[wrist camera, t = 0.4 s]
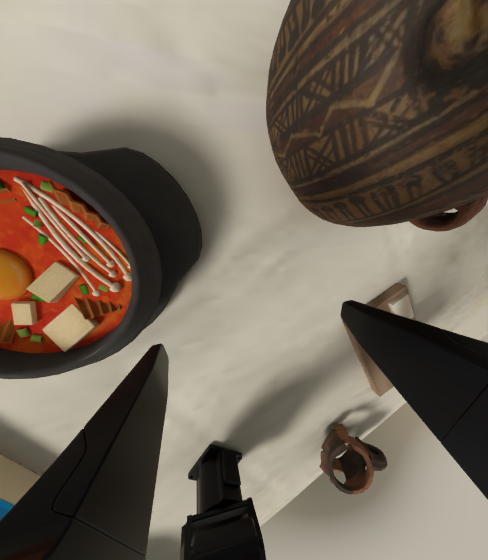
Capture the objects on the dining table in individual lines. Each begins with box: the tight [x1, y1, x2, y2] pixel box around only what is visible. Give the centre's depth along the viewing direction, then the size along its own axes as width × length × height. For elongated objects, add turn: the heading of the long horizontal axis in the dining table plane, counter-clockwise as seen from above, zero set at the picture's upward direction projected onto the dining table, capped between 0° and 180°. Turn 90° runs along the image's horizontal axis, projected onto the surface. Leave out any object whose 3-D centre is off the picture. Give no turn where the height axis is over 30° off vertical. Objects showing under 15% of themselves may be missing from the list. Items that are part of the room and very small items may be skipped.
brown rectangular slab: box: [343, 284, 415, 396], centre depth 31 cm, size 11×18×4 cm, turn 30°
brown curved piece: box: [320, 424, 387, 494], centre depth 35 cm, size 12×10×8 cm
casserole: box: [0, 138, 202, 379], centre depth 16 cm, size 25×19×8 cm
